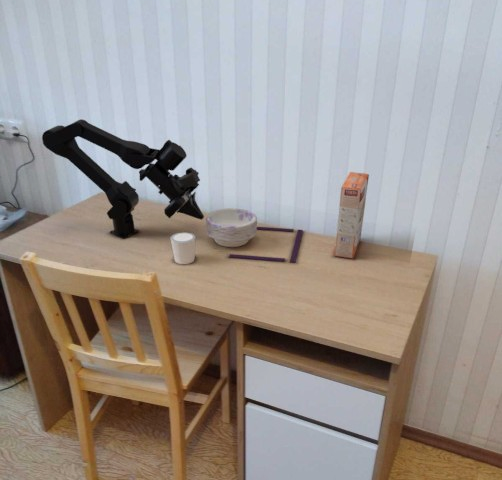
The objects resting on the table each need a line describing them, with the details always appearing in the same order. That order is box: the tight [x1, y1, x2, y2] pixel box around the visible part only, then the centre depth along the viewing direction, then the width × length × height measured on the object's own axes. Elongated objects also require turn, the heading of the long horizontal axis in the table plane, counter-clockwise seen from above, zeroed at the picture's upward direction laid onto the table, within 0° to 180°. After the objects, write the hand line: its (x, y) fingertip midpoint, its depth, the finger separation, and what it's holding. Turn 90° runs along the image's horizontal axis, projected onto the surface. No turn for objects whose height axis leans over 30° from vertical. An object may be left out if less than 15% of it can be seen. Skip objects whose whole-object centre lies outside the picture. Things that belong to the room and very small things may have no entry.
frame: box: [228, 226, 304, 264], centre depth 160 cm, size 19×22×1 cm
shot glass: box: [170, 232, 196, 265], centre depth 150 cm, size 7×7×7 cm
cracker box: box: [333, 171, 370, 259], centre depth 152 cm, size 14×6×21 cm, turn 161°
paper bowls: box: [205, 207, 258, 248], centre depth 160 cm, size 15×15×8 cm
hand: (202, 218), depth 160 cm, fingers closed
